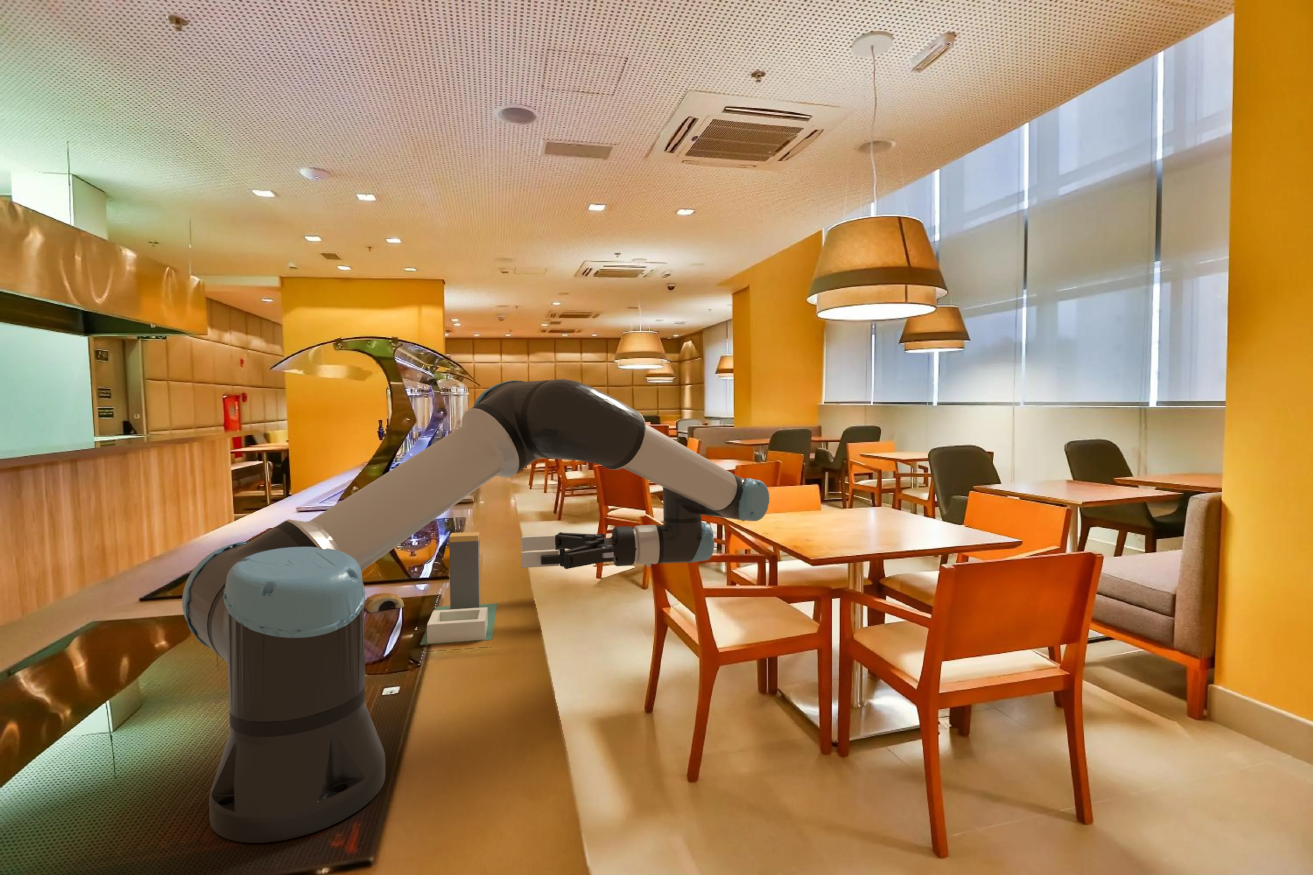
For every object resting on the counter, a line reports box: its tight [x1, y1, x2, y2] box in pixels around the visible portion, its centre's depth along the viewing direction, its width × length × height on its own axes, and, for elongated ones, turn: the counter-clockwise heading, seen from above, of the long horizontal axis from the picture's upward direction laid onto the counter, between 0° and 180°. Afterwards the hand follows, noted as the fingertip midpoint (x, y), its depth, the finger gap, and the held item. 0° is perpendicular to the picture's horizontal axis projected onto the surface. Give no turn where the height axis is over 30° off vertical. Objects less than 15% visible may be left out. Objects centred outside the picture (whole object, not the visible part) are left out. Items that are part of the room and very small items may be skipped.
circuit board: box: [419, 602, 498, 653], centre depth 112 cm, size 20×11×1 cm, turn 12°
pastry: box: [364, 592, 405, 613], centre depth 123 cm, size 9×7×4 cm
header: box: [426, 607, 488, 645], centre depth 106 cm, size 7×9×3 cm
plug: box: [448, 531, 481, 609], centre depth 118 cm, size 4×5×14 cm
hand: (521, 551), depth 121 cm, fingers open, 13 cm apart
